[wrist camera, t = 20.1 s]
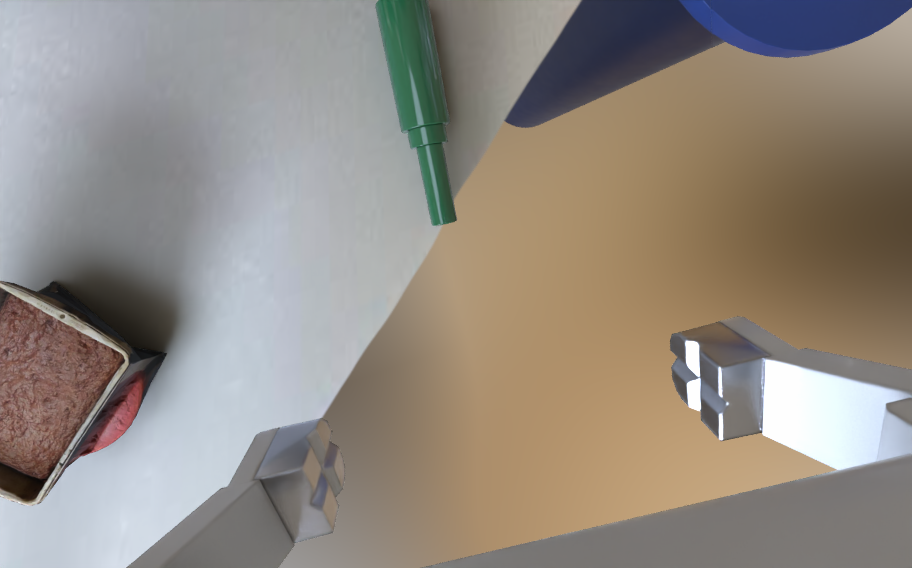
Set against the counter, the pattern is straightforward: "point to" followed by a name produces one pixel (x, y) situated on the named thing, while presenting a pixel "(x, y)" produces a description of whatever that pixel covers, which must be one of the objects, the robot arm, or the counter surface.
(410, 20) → the green bottle
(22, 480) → the baking dish
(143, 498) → the counter surface
